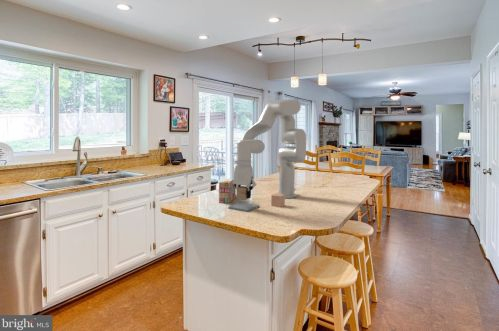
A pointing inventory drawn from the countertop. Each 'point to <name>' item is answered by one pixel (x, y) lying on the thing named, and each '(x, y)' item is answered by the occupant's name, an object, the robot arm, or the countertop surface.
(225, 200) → the stack of blocks
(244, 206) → the baseplate
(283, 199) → the salmon pink cube
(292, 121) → the robot arm
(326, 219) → the countertop surface
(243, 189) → the walnut brick
